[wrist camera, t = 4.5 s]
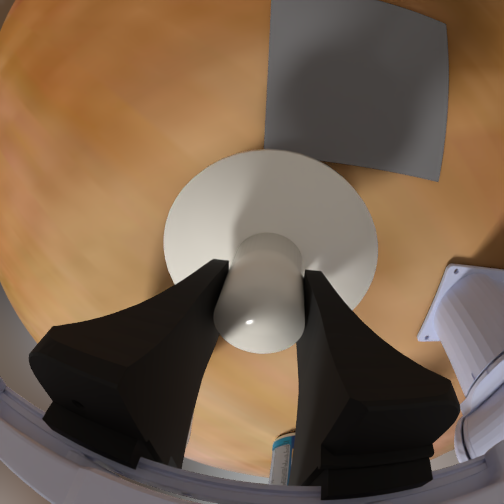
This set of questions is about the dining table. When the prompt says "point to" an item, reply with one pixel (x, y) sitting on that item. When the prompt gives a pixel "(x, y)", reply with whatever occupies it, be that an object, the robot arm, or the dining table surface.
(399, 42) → the mat
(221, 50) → the dining table surface
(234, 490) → the robot arm
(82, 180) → the dining table surface
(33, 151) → the dining table surface
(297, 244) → the lid
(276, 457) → the beverage bottle
